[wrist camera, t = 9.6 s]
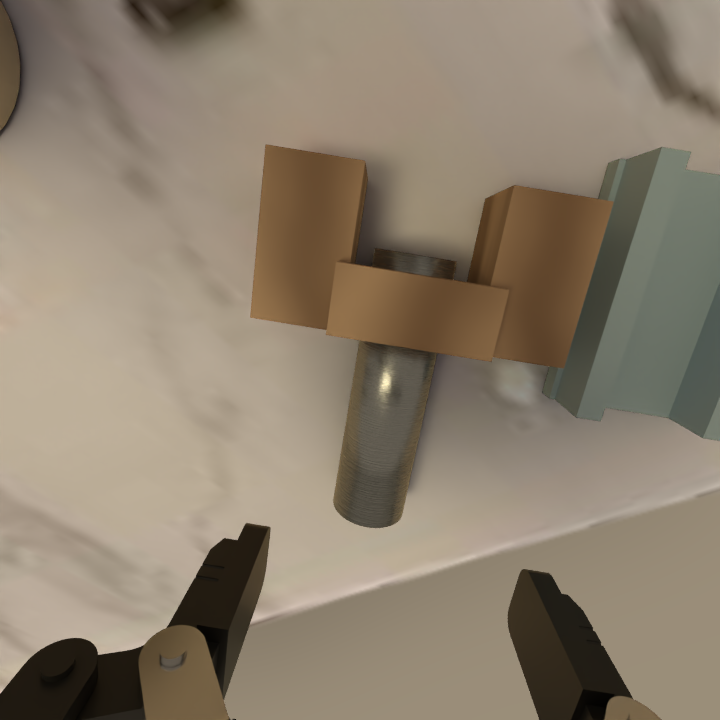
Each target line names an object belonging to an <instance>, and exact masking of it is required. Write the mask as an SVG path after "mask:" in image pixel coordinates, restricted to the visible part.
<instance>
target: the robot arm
mask: <svg viewBox="0 0 720 720" xmlns="http://www.w3.org/2000/svg"><path fill="white" fill-rule="evenodd" d="M19 83H20V60H19V53H18V46H17V41H16V37H15V34H14V31H13V28H12V25H11V22H10V18H9V17H8V15H7V13H6V11H5V9H4V7H3V5H2V3H1V1H0V130H1V129H2V128H3V127H4V126H5V125H6V123H7V121H8V119H9V117H10V115H11V113H12V111H13V109H14V107H15V103H16V99H17V95H18V91H19ZM269 539H270V527H267V526H261V525H255V524H249V523H246V524H245V526H244V528H243V530H242V532H241V534H240V536H239V538H238V540H232V539H226V538H224V539H223V540H222V541H220V542H219V543H218V544H217V545H215V546H214V547H213V548H212V549H211V550H210V551H209V553H208V555H207V557H206V559H205V560H204V562H203V565H202V566H201V568H200V569H199V571H198V573H197V575H196V578H194V580H193V582H192V584H191V586H190V587H189V589H188V591H187V593H186V595H185V596H184V598H183V600H182V602H181V604H180V605H179V607H178V609H177V611H176V613H175V614H174V616H173V618H172V620H171V622H170V623H169V625H168V626H167V628H166V629H163V630H161V631H160V632H158V633H156V634H155V635H154V636H152V637H151V638H150V639H149V640H148V641H147V643H146V644H145V645H144V646H141V647H139V648H136V649H133V650H128V651H122V652H115V653H108V654H102V655H98V652H97V649H96V647H95V646H94V644H92V643H91V642H90V641H88V640H85V639H81V638H70V639H65V640H61V641H58V642H55V643H53V644H50V645H48V646H46V647H45V648H43V649H41V650H40V651H38V652H37V653H36V654H34V655H33V656H32V657H31V658H30V659H29V660H28V661H27V662H26V663H25V664H24V665H23V667H22V668H21V669H20V670H19V672H18V673H17V674H16V675H15V676H14V678H13V679H12V680H11V681H10V683H9V684H8V685H7V686H6V688H5V689H4V690H3V691H2V692H1V694H0V720H230V718H229V716H228V713H227V710H226V707H225V704H224V698H225V695H226V692H227V689H228V686H229V683H230V680H231V677H232V674H233V671H234V669H235V666H236V663H237V659H238V657H239V654H240V651H241V648H242V645H243V642H244V639H245V636H246V633H247V630H248V628H249V625H250V622H251V619H252V616H253V613H254V610H255V607H256V604H257V601H258V598H259V595H260V592H261V589H262V586H263V582H264V577H265V572H266V565H267V556H268V548H269ZM508 627H509V632H510V636H511V639H512V641H513V644H514V647H515V650H516V653H517V656H518V659H519V662H520V665H521V667H522V670H523V673H524V676H525V679H526V682H527V685H528V688H529V691H530V694H531V696H532V699H533V702H534V705H535V708H536V711H537V714H538V717H539V720H661V719H660V718H659V717H658V716H657V715H656V714H655V713H654V712H653V711H652V710H650V709H649V708H648V707H646V706H645V705H643V704H642V703H640V702H638V701H636V700H634V699H633V698H632V696H631V694H630V692H629V691H628V689H627V687H626V685H625V684H624V682H623V680H622V678H621V676H620V675H619V673H618V671H617V669H616V668H615V666H614V664H613V663H612V661H611V659H610V657H609V655H608V654H607V652H606V650H605V648H604V647H603V646H601V641H600V640H599V638H598V636H597V634H596V632H595V631H593V627H592V625H591V624H590V622H589V620H588V618H587V617H586V615H585V613H584V611H583V610H582V609H581V608H580V607H579V606H578V605H577V604H576V603H575V602H574V601H573V600H572V599H571V598H570V597H569V596H568V595H565V594H561V592H560V590H559V588H558V586H557V585H556V583H555V581H554V579H553V577H552V576H551V575H550V574H549V573H545V572H539V571H533V570H527V569H523V570H522V571H521V572H520V575H519V577H518V581H517V584H516V587H515V590H514V593H513V597H512V600H511V603H510V607H509V611H508ZM233 720H236V719H233Z"/></svg>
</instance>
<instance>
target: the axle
mask: <svg viewBox="0 0 720 720" xmlns="http://www.w3.org/2000/svg"><path fill="white" fill-rule="evenodd" d="M456 265H457V262H456V261H450V260H444V259H438V258H432V257H426V256H420V255H414V254H408V253H402V252H396V251H390V250H384V249H378V248H375V250H374V256H373V262H372V267H377V268H384V269H390V270H396V271H402V272H408V273H414V274H420V275H426V276H432V277H439V278H445V279H451V280H453V278H454V274H455V269H456ZM436 357H437V353H435V352H429V351H422V350H416V349H410V348H404V347H398V346H392V345H386V344H380V343H373V342H367V341H361V340H360V341H359V347H358V353H357V359H356V365H355V371H354V377H353V383H352V389H351V396H350V402H349V408H348V414H347V420H346V426H345V432H344V438H343V444H342V450H341V456H340V462H339V468H338V474H337V480H336V486H335V493H334V499H333V503H334V507H335V509H336V510H337V512H338V513H339V514H340V515H341V516H342V517H344V518H345V519H346V520H348V521H350V522H352V523H354V524H357V525H360V526H364V527H370V528H383V527H388V526H391V525H393V524H395V523H396V522H398V521H399V520H400V518H401V517H402V513H403V509H404V504H405V500H406V495H407V490H408V486H409V481H410V477H411V472H412V467H413V463H414V458H415V453H416V449H417V444H418V440H419V435H420V430H421V426H422V421H423V417H424V412H425V407H426V403H427V398H428V394H429V389H430V384H431V380H432V375H433V371H434V366H435V361H436Z"/></svg>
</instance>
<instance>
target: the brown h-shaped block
mask: <svg viewBox="0 0 720 720" xmlns="http://www.w3.org/2000/svg"><path fill="white" fill-rule="evenodd" d="M367 182H368V177H367V170H366V163H365V161H363V160H357V159H351V158H345V157H339V156H333V155H327V154H321V153H314V152H308V151H302V150H296V149H290V148H284V147H278V146H272V145H266V146H265V157H264V169H263V180H262V191H261V202H260V214H259V225H258V236H257V247H256V259H255V270H254V281H253V292H252V304H251V315H250V317H251V318H257V319H263V320H269V321H275V322H281V323H287V324H294V325H300V326H306V327H312V328H318V329H324V330H327V331H326V335H331V336H337V337H343V338H349V339H355V340H361V341H367V342H373V343H380V344H386V345H392V346H398V347H404V348H410V349H416V350H422V351H429V352H435V353H441V354H447V355H453V356H459V357H465V358H471V359H478V360H484V361H490V362H492V358H493V357H496V358H502V359H508V360H514V361H520V362H526V363H532V364H538V365H545V366H551V367H557V368H563V369H564V366H565V363H566V360H567V356H568V353H569V350H570V346H571V343H572V340H573V336H574V333H575V330H576V326H577V323H578V320H579V316H580V313H581V310H582V306H583V303H584V300H585V296H586V293H587V290H588V286H589V283H590V280H591V276H592V273H593V270H594V266H595V263H596V260H597V256H598V253H599V250H600V246H601V243H602V240H603V236H604V233H605V230H606V226H607V223H608V220H609V216H610V213H611V209H612V206H613V203H614V201H607V200H601V199H595V198H589V197H583V196H577V195H571V194H565V193H559V192H552V191H546V190H540V189H534V188H528V187H522V186H516V185H514V186H512V187H510V188H508V189H505V190H503V191H501V192H499V193H497V194H495V195H493V196H490V197H488V198H486V199H485V203H484V208H483V212H482V217H481V221H480V225H479V230H478V234H477V239H476V243H475V248H474V252H473V257H472V261H471V266H470V270H469V275H468V279H467V282H463V281H457V280H451V279H445V278H439V277H432V276H426V275H420V274H414V273H408V272H402V271H396V270H390V269H384V268H377V267H371V266H365V265H359V264H355V261H356V255H357V248H358V241H359V235H360V228H361V222H362V215H363V208H364V202H365V195H366V188H367Z"/></svg>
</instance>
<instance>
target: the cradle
mask: <svg viewBox="0 0 720 720" xmlns="http://www.w3.org/2000/svg"><path fill="white" fill-rule="evenodd" d="M690 154H691V152H689V151H683V150H677V149H671V148H665V147H661V148H658V149H655V150H652V151H650V152H647V153H644V154H641V155H638V156H636V157H633V158H630V159H627V160H625V159H618V160H615V161H613V162H610V163H609V164H608V167H607V170H606V174H605V177H604V181H603V184H602V188H601V191H600V195H599V198H598V199H601V200H607V201H614V203H613V206H612V209H611V213H610V216H609V220H608V223H607V226H606V230H605V233H604V236H603V240H602V243H601V246H600V250H599V253H598V256H597V260H596V263H595V266H594V270H593V273H592V276H591V280H590V283H589V286H588V290H587V293H586V296H585V300H584V303H583V306H582V310H581V313H580V316H579V320H578V323H577V326H576V330H575V333H574V336H573V340H572V343H571V346H570V350H569V353H568V356H567V360H566V363H565V366H564V369H563V368H557V367H551V366H550V367H549V371H548V374H547V378H546V381H545V384H544V388H543V391H542V393H544V394H545V395H546V396H547V397H548V398H549V399H555V400H556V401H557V402H558V403H560V404H561V405H562V406H563V407H564V408H566V409H567V410H568V411H569V412H570V413H571V414H573V415H574V416H575V417H576V418H582V419H589V420H595V421H601V419H602V416H603V413H604V410H605V408H611V409H617V410H623V411H629V412H635V413H641V414H647V415H654V416H660V417H666V418H669V419H671V420H673V421H674V422H676V423H678V424H679V425H681V426H683V427H685V428H686V429H688V430H690V431H691V432H693V433H695V434H697V435H698V436H700V437H702V438H705V439H711V440H717V441H720V175H716V174H710V173H704V172H698V171H692V170H686V166H687V163H688V160H689V157H690Z"/></svg>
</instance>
